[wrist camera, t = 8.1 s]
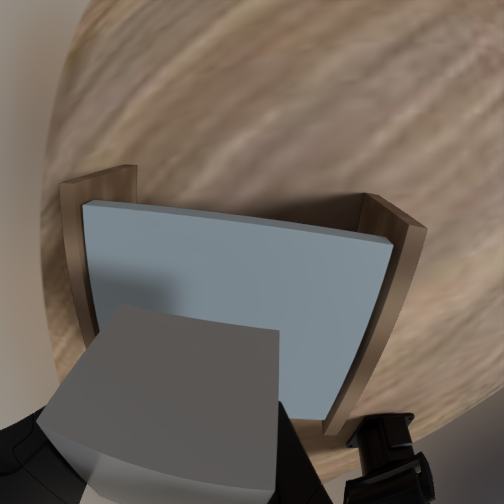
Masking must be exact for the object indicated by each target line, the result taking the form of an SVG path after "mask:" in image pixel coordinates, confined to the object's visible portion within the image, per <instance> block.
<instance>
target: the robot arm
mask: <svg viewBox="0 0 504 504" xmlns="http://www.w3.org/2000/svg"><path fill="white" fill-rule="evenodd" d="M45 407H46V406H44V407H42V408H41V409H39V410H37V411H36V412H35V413H32V414H31V415H29V416H27V417H26V418H24V419H22V420H20V421H19V422H17V423H15V424H13V425H11V426H9V427H7V428H4V429H2V430H0V504H79V503H80V500H81V498H82V495H83V493H84V490H85V488H86V485H87V483H86V482H85V481H84V479H83V478H82V477H81V476H80V475H79V474H78V473H77V472H76V471H75V470H74V469H73V468H72V466H71V465H70V464H69V463H68V462H67V461H66V460H65V458H64V457H63V456H62V455H61V454H60V452H59V451H58V450H57V449H56V447H55V446H54V445H53V444H52V442H51V441H50V440H49V438H48V437H47V436H46V434H45V433H44V432H43V430H42V429H41V428H40V426H39V425H38V423H37V422H36V420H37V419H38V417H39V416H40V414H41V413H42V411H43V410H44V408H45ZM413 419H414V414H413V413H411V414H399V415H384V416H368V417H365V418H364V419H363V421H362V422H361V424H360V425H359V427H358V428H357V430H356V431H355V433H354V434H353V436H352V437H351V438H350V440H349V441H348V443H347V448H358V449H359V455H360V462H361V468H362V475H363V476H362V477H359V478H356V479H353V480H348V481H346V486H345V491H344V502H343V504H430V502H433V501H435V500H436V498H435V489H434V482H433V476H432V472H431V469H430V466H429V463H428V461H427V459H426V457H425V456H424V454H423V452H422V451H421V452H419V453H418V454H416V455H415V454H414V451H413V447H412V440H411V436H410V433H409V430H408V425H409V424H410V423H411V422H412V420H413ZM418 471H421V472H420V473H416V472H418ZM267 504H333V502H332V501H331V499H330V497H329V496H328V494H327V492H326V490H325V488H324V486H323V485H322V484H321V481H320V479H319V477H318V475H317V473H316V471H315V469H314V467H313V465H312V463H311V461H310V459H309V457H308V455H307V453H306V451H305V449H304V447H303V445H302V443H301V441H300V439H299V437H298V435H297V433H296V431H295V429H294V427H293V425H292V423H291V421H290V419H289V417H288V415H287V412H286V410H285V408H284V406H283V404H282V402H281V401H278V432H277V458H276V479H275V491H274V493H273V495H272V496H271V498H270V500H269V501H268V503H267Z"/></svg>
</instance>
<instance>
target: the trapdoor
mask: <svg viewBox="0 0 504 504" xmlns="http://www.w3.org/2000/svg"><path fill="white" fill-rule="evenodd" d="M83 220H84V233H85V243H86V252H87V261H88V268H89V276H90V282H91V288H92V294H93V300H94V305H95V311H96V316H97V321H98V325H99V330H100V331H101V330H102V329H103V327H104V326H105V325H106V323H107V322H108V321H109V320H110V318H111V317H112V316H113V315H114V313H115V312H116V311H117V310H118V308H119V307H120V306H121V305H122V304H124V305H128V306H133V307H138V308H142V309H147V310H152V311H157V312H163V313H168V314H173V315H179V316H184V317H190V318H196V319H202V320H208V321H214V322H221V323H228V324H234V325H242V326H249V327H256V328H264V329H273V330H280V339H279V398H278V401H281V402H282V404H283V406H284V408H285V410H286V412H287V415H288V417H289V418H293V419H310V420H325V418H326V416H327V414H328V413H329V411H330V409H331V407H332V405H333V403H334V401H335V399H336V397H337V394H338V392H339V390H340V388H341V386H342V384H343V382H344V380H345V377H346V375H347V373H348V371H349V369H350V366H351V364H352V362H353V359H354V357H355V355H356V352H357V350H358V347H359V345H360V343H361V340H362V338H363V335H364V332H365V330H366V327H367V325H368V322H369V319H370V317H371V314H372V311H373V308H374V306H375V303H376V300H377V297H378V294H379V291H380V288H381V285H382V282H383V279H384V276H385V272H386V269H387V266H388V263H389V259H390V256H391V252H392V249H393V244H392V243H391V242H390V241H389V240H388V239H387V238H386V237H381V236H376V235H370V234H364V233H358V232H352V231H345V230H339V229H333V228H326V227H320V226H313V225H307V224H300V223H293V222H286V221H279V220H272V219H264V218H257V217H249V216H242V215H234V214H226V213H218V212H209V211H201V210H192V209H183V208H174V207H165V206H155V205H145V204H134V203H124V202H112V201H100V200H93V201H90V202H88V203H86V204H84V205H83Z"/></svg>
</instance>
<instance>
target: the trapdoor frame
mask: <svg viewBox="0 0 504 504" xmlns="http://www.w3.org/2000/svg"><path fill="white" fill-rule="evenodd" d="M136 196H137V165H121V166H117V167H113V168H110V169H106V170H102V171H99V172H95V173H91V174H88V175H85V176H81V177H78V178H75V179H71V180H68V181H65V182H62V183H60V202H61V216H62V227H63V236H64V244H65V252H66V259H67V265H68V271H69V277H70V283H71V288H72V293H73V298H74V302H75V307H76V311H77V316H78V320H79V324H80V328H81V331H82V335H83V339H84V342H85V346H86V349H87V348H88V347H89V345H90V344H91V343H92V341H93V340H94V339H95V338H96V336H97V335H98V334H99V332H100V330H99V325H98V321H97V316H96V311H95V305H94V300H93V294H92V288H91V282H90V276H89V268H88V261H87V252H86V243H85V233H84V220H83V205H84V204H86V203H88V202H90V201H93V200H100V201H112V202H124V203H134V204H136ZM427 230H428V229H427V228H426V227H425V226H423V225H422V224H421V223H419V222H418V221H416V220H415V219H413V218H412V217H411V216H409V215H408V214H406V213H405V212H403V211H402V210H400V209H399V208H397V207H396V206H394V205H393V204H391V203H390V202H388V201H387V200H385V199H384V198H382V197H381V196H379V195H374V194H370V193H365V195H364V200H363V205H362V209H361V214H360V219H359V223H358V228H357V232H358V233H364V234H370V235H376V236H381V237H386V238H387V239H388V240H389V241H390V242H391V243H392V244H393V249H392V252H391V256H390V259H389V263H388V266H387V269H386V272H385V276H384V279H383V282H382V285H381V288H380V291H379V294H378V297H377V300H376V303H375V306H374V308H373V311H372V314H371V317H370V319H369V322H368V325H367V327H366V330H365V332H364V335H363V338H362V340H361V343H360V345H359V347H358V350H357V352H356V355H355V357H354V359H353V362H352V364H351V366H350V369H349V371H348V373H347V375H346V377H345V380H344V382H343V384H342V386H341V388H340V390H339V392H338V394H337V397H336V399H335V401H334V403H333V405H332V407H331V409H330V411H329V413H328V414H327V416H326V418H325V420H322V427H323V435H325V436H337V434H338V433H339V431H340V430H341V428H342V426H343V425H344V423H345V422H346V420H347V418H348V417H349V415H350V413H351V411H352V410H353V408H354V406H355V405H356V403H357V401H358V399H359V397H360V396H361V394H362V392H363V390H364V388H365V386H366V384H367V383H368V381H369V379H370V377H371V375H372V373H373V371H374V369H375V367H376V365H377V363H378V361H379V359H380V357H381V355H382V352H383V350H384V348H385V346H386V344H387V342H388V339H389V337H390V335H391V332H392V330H393V328H394V325H395V323H396V321H397V318H398V316H399V313H400V311H401V308H402V306H403V303H404V301H405V298H406V295H407V293H408V290H409V287H410V284H411V281H412V279H413V276H414V273H415V270H416V267H417V264H418V261H419V257H420V254H421V251H422V248H423V244H424V241H425V237H426V234H427Z"/></svg>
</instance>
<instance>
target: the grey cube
mask: <svg viewBox="0 0 504 504" xmlns="http://www.w3.org/2000/svg"><path fill="white" fill-rule="evenodd" d="M279 339H280V330H273V329H264V328H256V327H249V326H242V325H234V324H228V323H221V322H214V321H208V320H202V319H196V318H190V317H184V316H179V315H173V314H168V313H163V312H157V311H152V310H147V309H142V308H138V307H133V306H128V305H124V304H122V305H121V306H120V307H119V308H118V310H117V311H116V312H115V313H114V315H113V316H112V317H111V318H110V320H109V321H108V322H107V323H106V325H105V326H104V327H103V329H102V330H101V331H100V332H99V334H98V335H97V336H96V338H95V339H94V340H93V341H92V343H91V344H90V345H89V347H88V348H87V349H86V351H85V352H84V353H83V355H82V356H81V357H80V359H79V360H78V361H77V363H76V364H75V366H74V367H73V368H72V370H71V371H70V372H69V374H68V375H67V377H66V378H65V379H64V381H63V382H62V384H61V385H60V386H59V388H58V389H57V391H56V392H55V394H54V395H53V397H52V398H51V399H50V401H49V402H48V404H47V405H46V407H45V408H44V410H43V411H42V413H41V414H40V416H39V417H38V419H37V420H36V422H37V423H38V425H39V426H40V428H41V429H42V430H43V432H44V433H45V434H46V436H47V437H48V438H49V440H50V441H51V442H52V444H53V445H54V446H55V447H56V449H57V450H58V451H59V452H60V454H61V455H62V456H63V457H64V458H65V460H66V461H67V462H68V463H69V464H70V465H71V466H72V468H73V469H74V470H75V471H76V472H77V473H78V474H79V475H80V476H81V477H82V478H83V479H84V481H85V482H86V483H87V484H88V485H89V486H90V487H91V488H92V489H93V490H94V491H96V492H97V493H98V495H100V496H101V497H104V498H106V499H109V500H111V501H114V502H116V503H119V504H267V503H268V501H269V500H270V498H271V496H272V495H273V493H274V491H275V479H276V458H277V432H278V398H279Z"/></svg>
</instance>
